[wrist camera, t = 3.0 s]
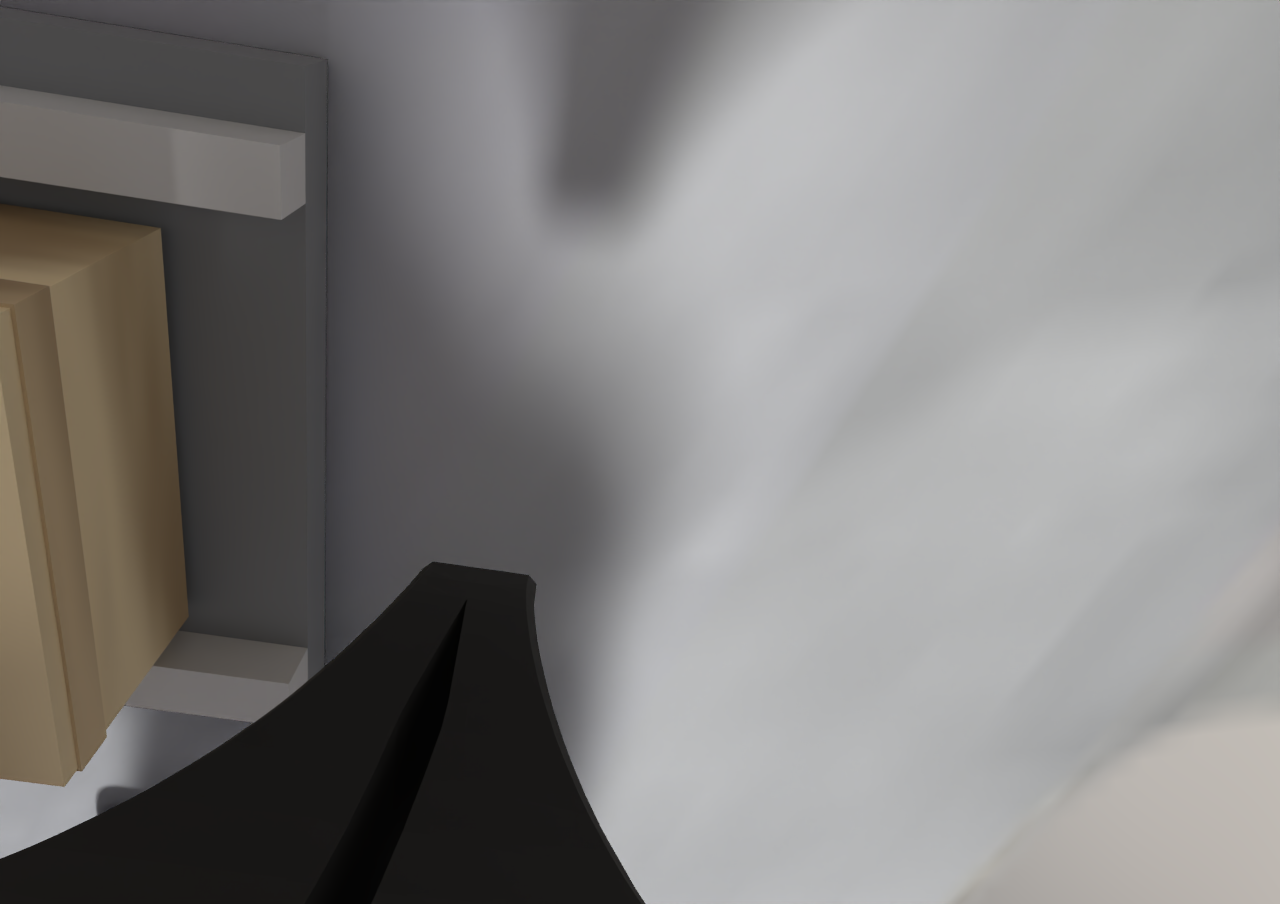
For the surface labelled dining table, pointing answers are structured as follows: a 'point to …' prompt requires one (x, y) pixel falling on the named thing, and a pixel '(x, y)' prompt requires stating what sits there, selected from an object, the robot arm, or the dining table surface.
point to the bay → (206, 312)
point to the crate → (82, 484)
